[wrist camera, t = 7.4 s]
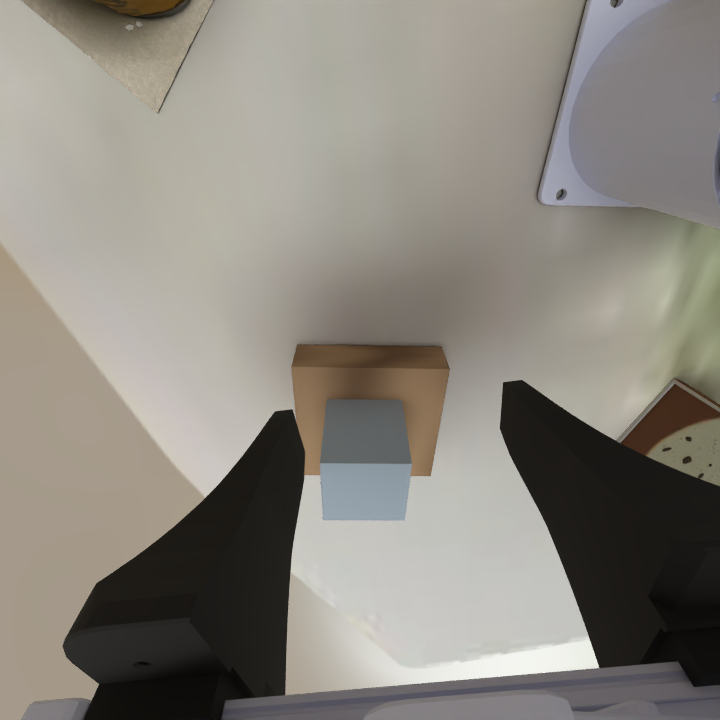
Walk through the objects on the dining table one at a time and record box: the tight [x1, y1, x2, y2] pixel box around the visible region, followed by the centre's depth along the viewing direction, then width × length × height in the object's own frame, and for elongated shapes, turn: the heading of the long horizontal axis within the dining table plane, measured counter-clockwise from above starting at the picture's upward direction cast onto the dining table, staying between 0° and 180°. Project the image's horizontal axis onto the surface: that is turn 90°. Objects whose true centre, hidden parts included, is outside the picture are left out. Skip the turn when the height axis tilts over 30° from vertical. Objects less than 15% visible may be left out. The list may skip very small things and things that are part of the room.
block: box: [320, 399, 412, 520], centre depth 22 cm, size 4×4×5 cm
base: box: [291, 345, 450, 476], centre depth 25 cm, size 9×9×2 cm
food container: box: [617, 378, 720, 486], centre depth 24 cm, size 12×6×10 cm, turn 163°
